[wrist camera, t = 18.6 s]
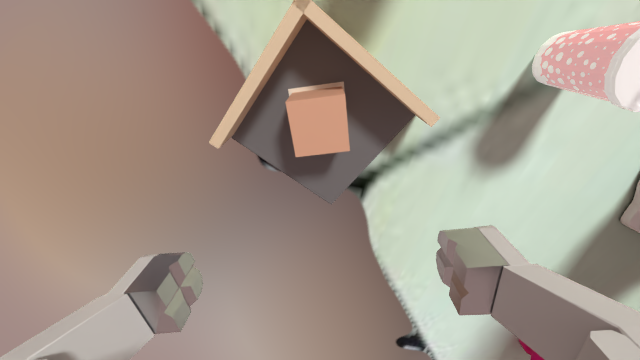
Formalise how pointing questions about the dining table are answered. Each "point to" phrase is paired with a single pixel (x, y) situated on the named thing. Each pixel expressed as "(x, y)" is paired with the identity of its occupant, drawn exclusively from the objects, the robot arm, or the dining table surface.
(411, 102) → the arena
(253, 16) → the dining table surface
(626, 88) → the beverage cup
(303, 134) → the cube
